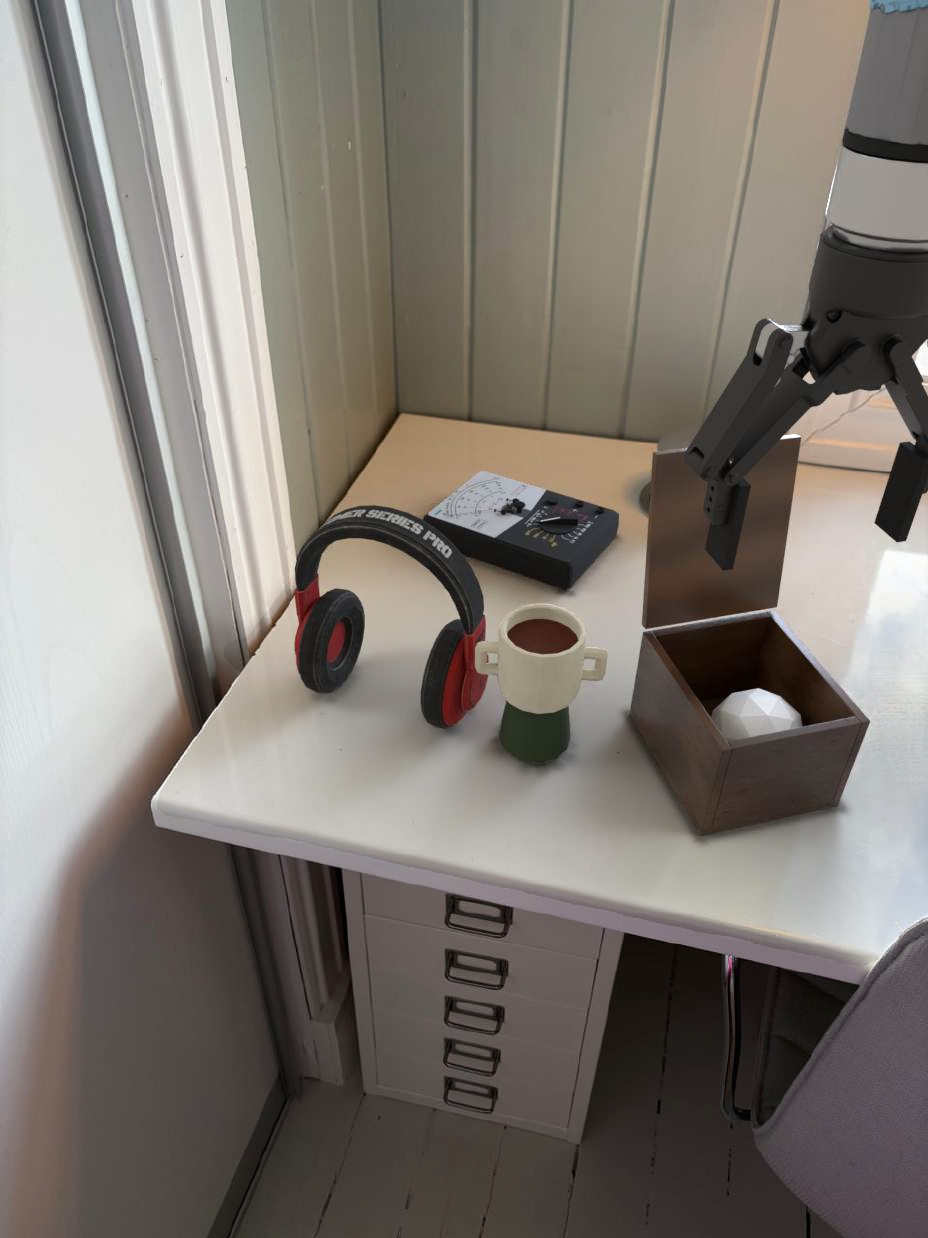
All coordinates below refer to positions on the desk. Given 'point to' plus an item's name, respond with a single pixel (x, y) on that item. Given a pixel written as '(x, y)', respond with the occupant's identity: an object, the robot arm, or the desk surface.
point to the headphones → (340, 620)
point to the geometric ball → (754, 715)
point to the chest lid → (678, 534)
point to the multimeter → (525, 528)
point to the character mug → (539, 677)
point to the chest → (751, 767)
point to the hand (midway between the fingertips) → (805, 545)
